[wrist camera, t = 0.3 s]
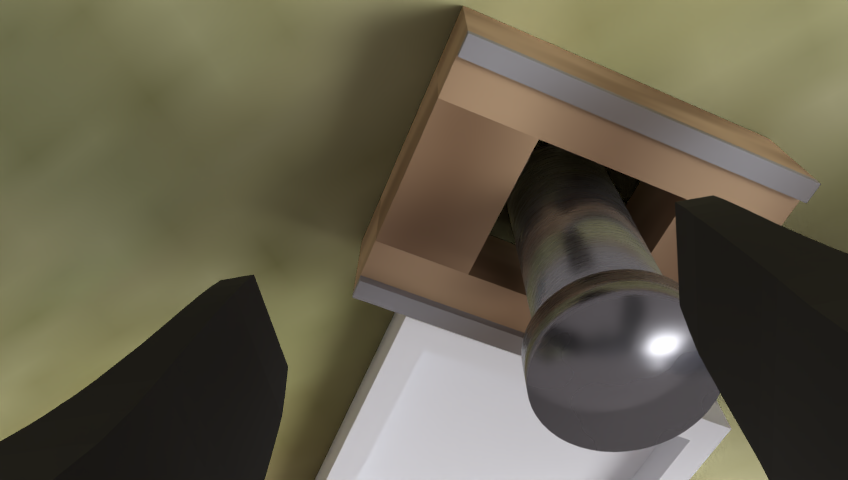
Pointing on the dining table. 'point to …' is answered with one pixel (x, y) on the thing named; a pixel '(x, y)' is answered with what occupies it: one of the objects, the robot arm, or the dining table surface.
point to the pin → (599, 314)
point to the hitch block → (507, 156)
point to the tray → (478, 421)
